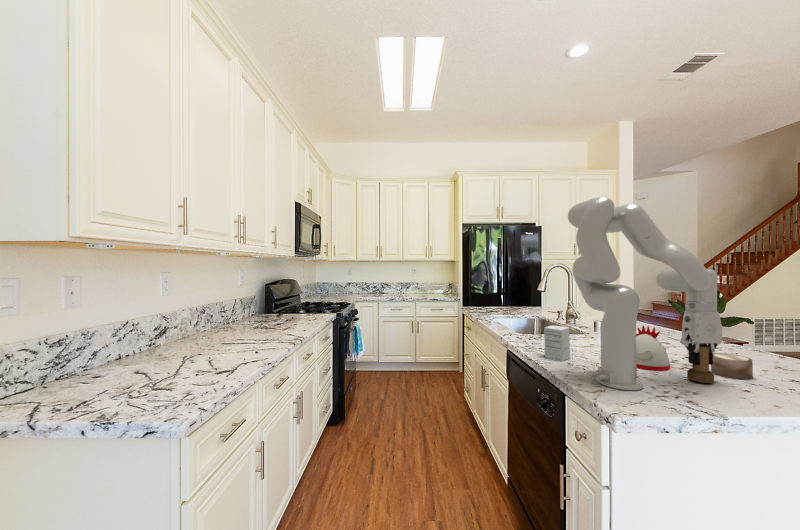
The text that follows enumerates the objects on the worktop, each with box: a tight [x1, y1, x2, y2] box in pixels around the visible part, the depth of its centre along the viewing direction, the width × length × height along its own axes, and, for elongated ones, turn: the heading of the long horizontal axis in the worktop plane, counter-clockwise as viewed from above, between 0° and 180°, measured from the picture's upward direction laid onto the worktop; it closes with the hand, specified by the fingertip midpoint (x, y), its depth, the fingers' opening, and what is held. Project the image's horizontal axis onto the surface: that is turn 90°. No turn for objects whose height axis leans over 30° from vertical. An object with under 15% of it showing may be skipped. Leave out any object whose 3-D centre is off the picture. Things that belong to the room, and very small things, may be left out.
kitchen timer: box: [636, 325, 671, 372], centre depth 124 cm, size 14×14×15 cm
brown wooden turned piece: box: [686, 343, 715, 384], centre depth 106 cm, size 7×6×18 cm
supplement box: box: [543, 324, 571, 362], centre depth 134 cm, size 7×7×13 cm
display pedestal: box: [710, 352, 754, 381], centre depth 112 cm, size 10×10×6 cm
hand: (700, 363), depth 106 cm, fingers closed on brown wooden turned piece, 3 cm apart
